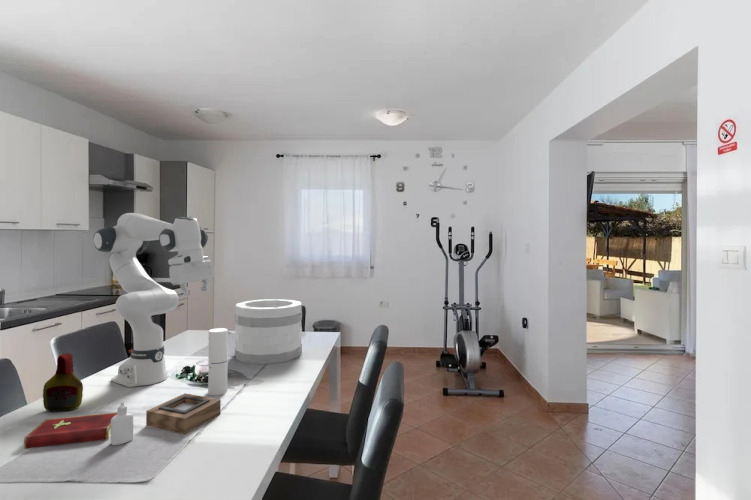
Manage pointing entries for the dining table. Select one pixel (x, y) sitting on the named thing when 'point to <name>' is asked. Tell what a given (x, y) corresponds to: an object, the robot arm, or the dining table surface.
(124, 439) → the eye dropper bottle
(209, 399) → the socket block
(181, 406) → the plate
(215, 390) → the cylindrical container
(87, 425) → the hardcover book
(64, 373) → the bottle
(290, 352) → the storage basket
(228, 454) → the dining table surface
